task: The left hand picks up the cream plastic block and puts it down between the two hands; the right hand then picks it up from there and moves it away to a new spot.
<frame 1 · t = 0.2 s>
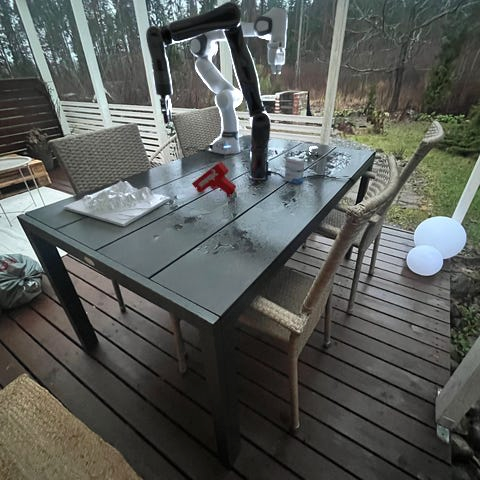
left hand: (276, 73, 158), 48 cm above the table, tool pointing down, fingers open, 8 cm apart
right hand: (168, 121, 130), 29 cm above the table, tool pointing down, fingers open, 8 cm apart
toy gun: (214, 193, 131), on the table
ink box: (293, 181, 143), on the table
relief map: (119, 204, 121), on the table
block: (313, 154, 187), on the table
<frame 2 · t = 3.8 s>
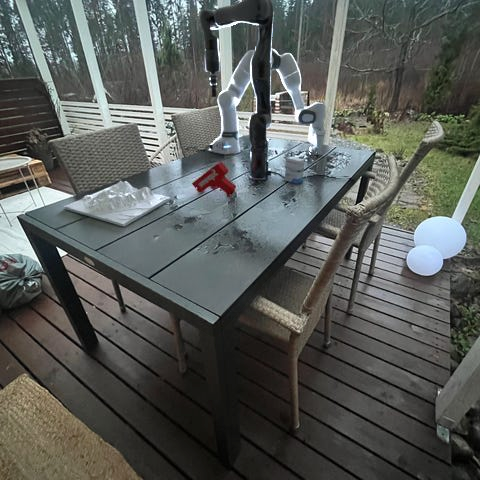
left hand: (313, 151, 186), 2 cm above the table, tool pointing down, fingers closed on block, 4 cm apart
right hand: (214, 96, 148), 38 cm above the table, tool pointing down, fingers open, 8 cm apart
block: (313, 154, 187), on the table, touching left hand
everything else where it was.
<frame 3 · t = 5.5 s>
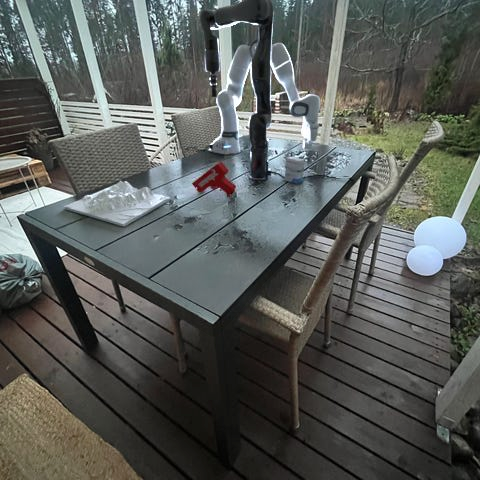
left hand: (307, 145, 181), 7 cm above the table, tool pointing down, fingers closed on block, 4 cm apart
right hand: (214, 96, 148), 38 cm above the table, tool pointing down, fingers open, 8 cm apart
block: (306, 148, 182), point 5 cm above the table, touching left hand
everything else where it was.
when the left hand's fingers open (3 cm above the table, at t = 7.6 s): block stays where it is, on the table.
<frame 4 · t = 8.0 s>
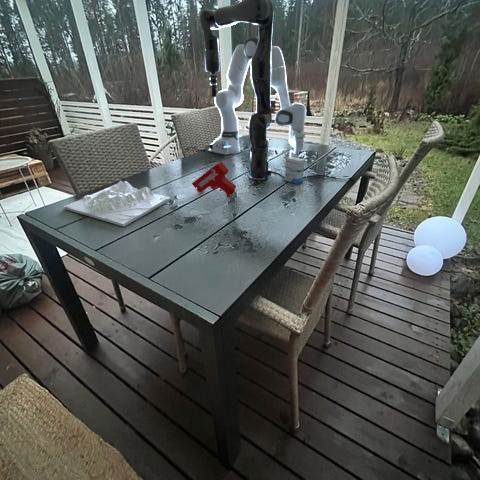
left hand: (294, 154, 177), 3 cm above the table, tool pointing down, fingers open, 8 cm apart
right hand: (214, 96, 148), 38 cm above the table, tool pointing down, fingers open, 8 cm apart
block: (293, 158, 178), on the table
everything else where it was.
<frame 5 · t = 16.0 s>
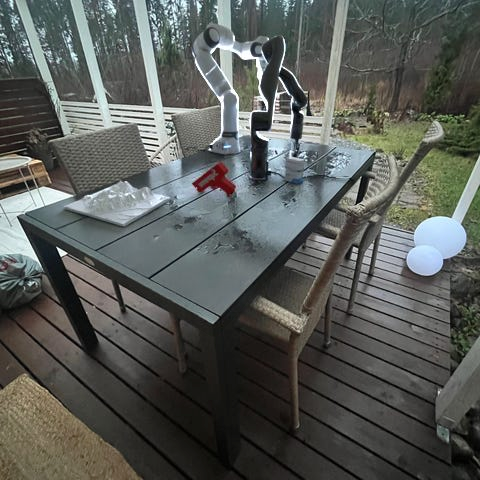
left hand: (261, 86, 203), 39 cm above the table, tool pointing down, fingers open, 8 cm apart
right hand: (293, 157, 178), 1 cm above the table, tool pointing down, fingers closed on block, 4 cm apart
block: (293, 158, 178), on the table, touching right hand
everything else where it was.
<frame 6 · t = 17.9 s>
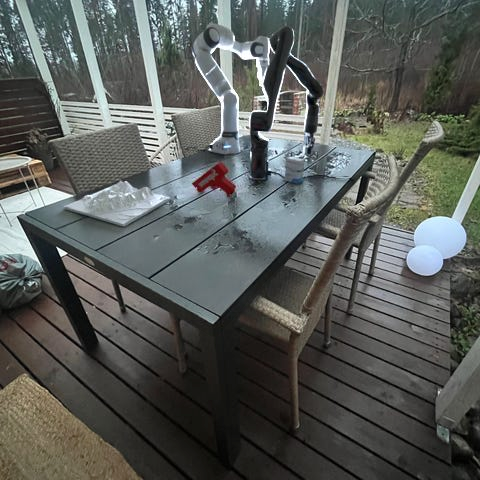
left hand: (261, 86, 203), 39 cm above the table, tool pointing down, fingers open, 8 cm apart
right hand: (307, 152, 169), 6 cm above the table, tool pointing down, fingers closed on block, 4 cm apart
block: (307, 153, 169), point 5 cm above the table, touching right hand
everything else where it was.
when the right hand's fingers open (1 cm above the table, at t = 20.2 s): block stays where it is, on the table.
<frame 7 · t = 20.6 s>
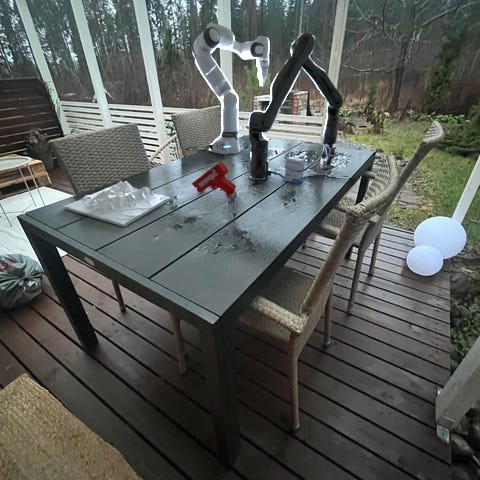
left hand: (261, 86, 203), 39 cm above the table, tool pointing down, fingers open, 8 cm apart
right hand: (325, 163, 162), 2 cm above the table, tool pointing down, fingers open, 8 cm apart
block: (324, 167, 163), on the table
everything else where it was.
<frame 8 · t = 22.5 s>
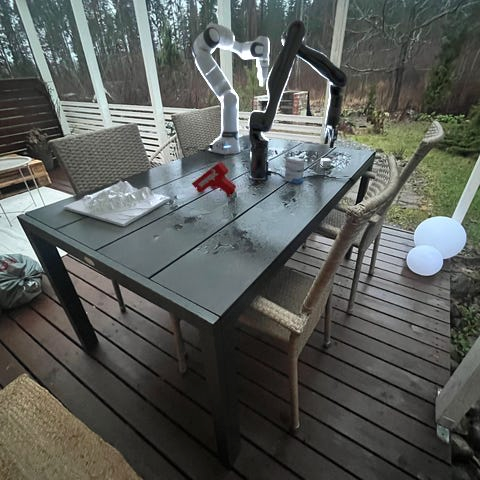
left hand: (261, 86, 203), 39 cm above the table, tool pointing down, fingers open, 8 cm apart
right hand: (328, 146, 157), 12 cm above the table, tool pointing down, fingers open, 8 cm apart
nothing on the table moved.
at the end: block inside the target area (0.1 cm from its centre), on the table; block tilted 0°; the two hands never held the block at the same time; the left hand is holding nothing; the right hand is holding nothing; block at rest at the end (0.0 cm/s) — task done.
